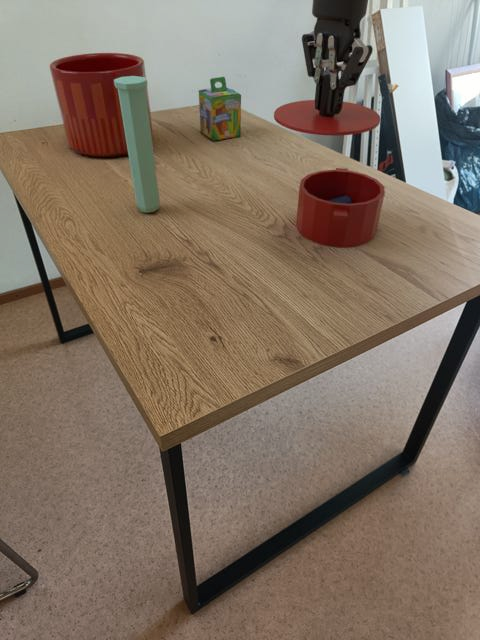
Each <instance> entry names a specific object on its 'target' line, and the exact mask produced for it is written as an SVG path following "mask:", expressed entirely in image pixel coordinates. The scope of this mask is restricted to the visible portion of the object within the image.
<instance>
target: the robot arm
mask: <svg viewBox="0 0 480 640" xmlns="http://www.w3.org/2000/svg"><path fill="white" fill-rule="evenodd" d="M368 4H369V0H312V6H311V7H312V8H311V13H312V16H313V17H314V18H315V19H316V22H315V25H314V27H313V30H312V31H311V32H309V33H304V34H302V36H301V44H302V49H303V53H304V61H305V67H306V71H307V73H306V74H307V76H308V77H309V78H313V82H314V84H315V93H314V100H315V109H317V110H320V100H321V91H322V82H323V76H324V75H331V80H330V87H331V89H329V97H328V106H327V114H329V115H336V114H339V113H340V111H341V109H342V105H343V102H344V99H345V98H344V97H345V90H346V89H347V88H348V87H352V86H356V85H357V83H358V81H359V79H360V77H361V75H362V73H363V71H364V70H365V67H366V66H367V63H368V61H369V59H370V58H371V56H372V54H373V51H374V49H373V46H372V45H371V44H367V45H366V44H364V42H363V41H362V39H361V38H362V37H361V36H362V32H361V21H362V19H363V18H365V17H366V15H367V11H368V6H369V5H368ZM339 74H340V76H339ZM338 76H339V79H338Z"/></svg>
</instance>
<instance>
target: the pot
mask: <svg viewBox="0 0 480 640" xmlns="http://www.w3.org/2000/svg"><path fill="white" fill-rule="evenodd" d="M348 169H349V168H343V167H335V169H325V170H318V171H315V172H312V173H309V174H307V175H305V176H304V177H303V178H301V179H300V183H299V188H298V201H297V211H296V221H295V226H296V229H297V231H298V232H299V234H300V235H302V236H303V237H304V238H305V239H307V240H309V241H310V242H312V243H316V244H319V245H322V246H326V247H333V248H352V247H357V246H361V245H364V244H366V243H368V242H370V241H371V240H372V239H373V238H374V237H375V235H376V233H377V230H378V226H379V223H380V222H379V221H380V217H381V213H382V208H383V203H384V199H385V195H386V192H385V185H383V184H382V183H381V182H380V181H379V180H378V179H377V178H375V177H372V176H370V175H368V174H365V173H362V172H358V171H353V170H348ZM342 196H348V197H349V198H350V199H351V201H352V204H346V203H334V202H330V201H328V200H331V199H335V198H338V197H342Z"/></svg>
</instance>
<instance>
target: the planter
mask: <svg viewBox="0 0 480 640" xmlns="http://www.w3.org/2000/svg"><path fill="white" fill-rule="evenodd" d="M49 70H50V75H51V79H52V83H53V87H54V88H53V89H54V92H55V96H56V100H57V104H58V107H59V113H60V117H61V121H62V125H63V129H64V132H65V137H66V141H67V144H68V146H69V148H70V149H71V150H72V151H74V152H76V153H78V154H81V155H83V156H88V157H92V158H93V157H94V158H115V157H116V158H117V157H123V156H129V155H128V149H127V143H126V137H125V130H124V124H123V118H122V112H121V106H120V100H119V93H118V88H116V87H115V84H114V79H117V78H120V77H127V76H139V77H145V78H146V79H147V73H146V66H145V60H144V59H143V58H142V57H141V56H138V55H135V54H129V53H120V52H119V53H118V52H94V53H82V54H75V55H69V56H64V57H61V58H58V59H55V60H54V61H52V62H50V64H49ZM148 88H149V87H148V86H145V89H146V97H147V105H148V113H149V121H150V129H151V137H152V141H153V140H154V129H153V122H152V115H151V114H152V113H151V106H150V105H151V104H150V97H149V89H148Z"/></svg>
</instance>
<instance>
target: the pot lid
mask: <svg viewBox="0 0 480 640" xmlns="http://www.w3.org/2000/svg"><path fill="white" fill-rule="evenodd" d="M338 79H340V76H339V75H338ZM330 80H331V75H324V76H323V82H322V91H321V100H320V110H317V109H315V99H307V100H298V101H291V102H289V103H288V102H287V103H286V104H282V105H280V106H279V107H277V108H276V109H275V110H274V112H273V119H274V121H275V122H276V123H277V124H278V125H280V126H281V127H284V128H286V129H289V130H291V131H295V132H299V133H303V134H310V135H316V136H332V137H333V136H335V137H336V136H338V137H339V136H351V135H358V134H363V133H367V132H370V131H373V130H374V129H376V128H377V127H378V126H379V125H380V123H381V116H380V114H379V113H378V112H377V111H375V110H374V109H373V108H370V107H367V106H365V105H362V104H359V103H353V102H349V101H343V105H342V109H341V111H340V113H339V114H336V115H329V114H327V106H328V97H329V89H331V87H330Z"/></svg>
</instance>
